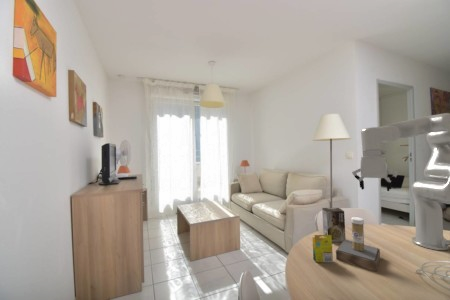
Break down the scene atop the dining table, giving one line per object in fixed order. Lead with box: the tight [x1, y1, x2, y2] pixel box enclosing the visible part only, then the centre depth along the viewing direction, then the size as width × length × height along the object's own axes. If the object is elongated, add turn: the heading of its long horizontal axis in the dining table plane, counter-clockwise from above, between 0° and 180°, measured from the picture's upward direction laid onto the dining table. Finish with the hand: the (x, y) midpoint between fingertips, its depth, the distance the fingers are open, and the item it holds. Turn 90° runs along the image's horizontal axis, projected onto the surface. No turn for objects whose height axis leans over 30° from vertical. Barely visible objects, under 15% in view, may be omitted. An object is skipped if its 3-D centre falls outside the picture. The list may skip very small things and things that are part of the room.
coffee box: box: [321, 207, 347, 243], centre depth 106 cm, size 9×6×16 cm
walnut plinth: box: [335, 239, 381, 272], centre depth 86 cm, size 14×14×4 cm
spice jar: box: [350, 216, 365, 251], centre depth 87 cm, size 5×5×14 cm
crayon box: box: [312, 234, 334, 264], centre depth 85 cm, size 7×3×12 cm, turn 86°
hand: (375, 189), depth 93 cm, fingers open, 9 cm apart
